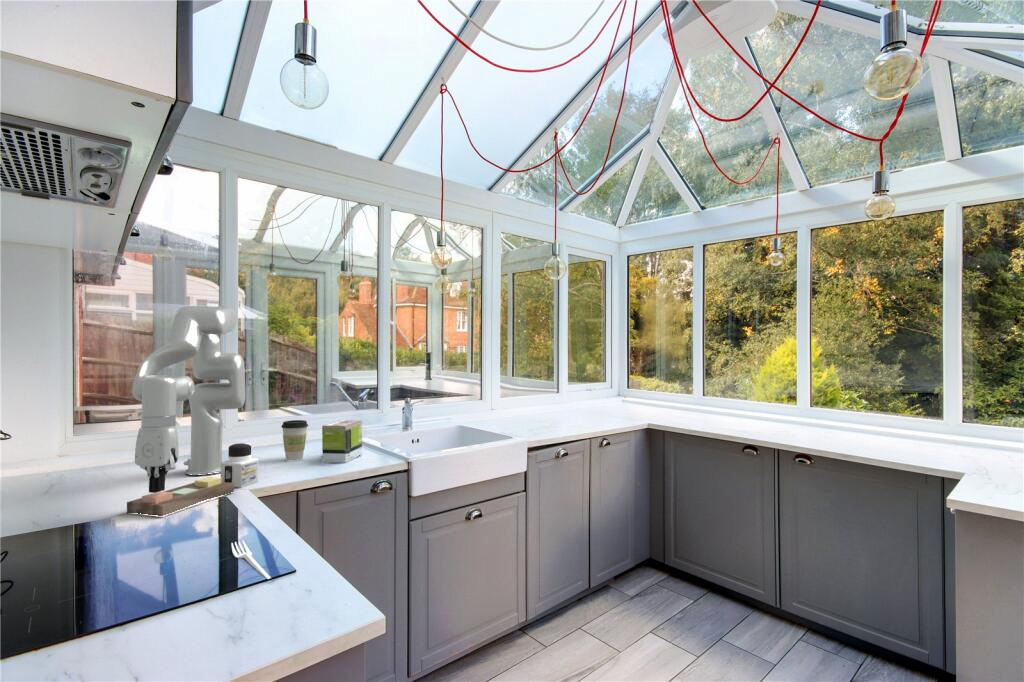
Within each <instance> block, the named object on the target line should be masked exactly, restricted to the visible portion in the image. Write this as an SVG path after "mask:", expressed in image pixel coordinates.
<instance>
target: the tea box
mask: <svg viewBox="0 0 1024 682" xmlns="http://www.w3.org/2000/svg"><path fill="white" fill-rule="evenodd" d="M362 422H363V421H362V420H361V419H359V420H358V419H339V420H337V421H332V422H329V423H326V424H323V425H322V427H321V428H322V429H321V433H322V434H321V435H322V440H321V442H322V445H321V446H322V447H321V449H322V450H321V451H322V454H321V455H322V456H321V457H322V463H327V462H336V463H335V464H345V463H348V462H350V461H353V460H354V459H356V458H358V457H360V456H362V455H363V423H362ZM361 454H362V455H361ZM359 455H360V456H359ZM357 456H358V457H357ZM337 462H338V463H337Z"/></svg>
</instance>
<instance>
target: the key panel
mask: <svg viewBox="0 0 1024 682" xmlns="http://www.w3.org/2000/svg"><path fill="white" fill-rule="evenodd" d="M184 488H190V489H198V491H195V492H192V493H189V494H186V495H175V494H173V499H170V500H167V501H163V502H160V503H157V504H151V503H142V497H139V498H137V499H133V500H129V501H127V502H126V514H127V513H138V514H140V513H141V514H148V515H158V516H163V515H166V514H169V513H172V512H175V511H177V510H180V509H183V508H185V507H188V506H190V505H193V504H196V503H198V502H201V501H204V500H207V499H211V498H214V497H218V496H221V495H225V494H228V493H231V492H234V491H235V490H234V488H235V487H234V483H229V482H221V484H218V485H214V486H211V487H208V488H207V487H196V486H195V481H193V482H191V483H187V484H185V485H181V486H178V487H173V488H171V489H168V490H167V489H166V490H163V491H162V492H174V491H177V490H180V489H184ZM234 493H235V492H234Z"/></svg>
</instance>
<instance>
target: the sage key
mask: <svg viewBox="0 0 1024 682" xmlns="http://www.w3.org/2000/svg"><path fill="white" fill-rule="evenodd" d="M195 491H198V489H190V488H184V489H180V490H177V491H174V492H171V493H173V494H175V495H186V494H189V493H192V492H195Z"/></svg>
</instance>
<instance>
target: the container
mask: <svg viewBox="0 0 1024 682" xmlns="http://www.w3.org/2000/svg"><path fill="white" fill-rule="evenodd" d="M252 445H253V444H252ZM252 445H251V444H250V443H248V442H240V443H233V444H231V445H229V446H228V455H227V456H228V460H225V461H222V463H221V473H220V478H221V482H229V483H234V488H236V487H238V488H237V489H241V488H244V487H247V486H249V485H253V484H255V483H258V482H259V459H258V458H253V457H252Z"/></svg>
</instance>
